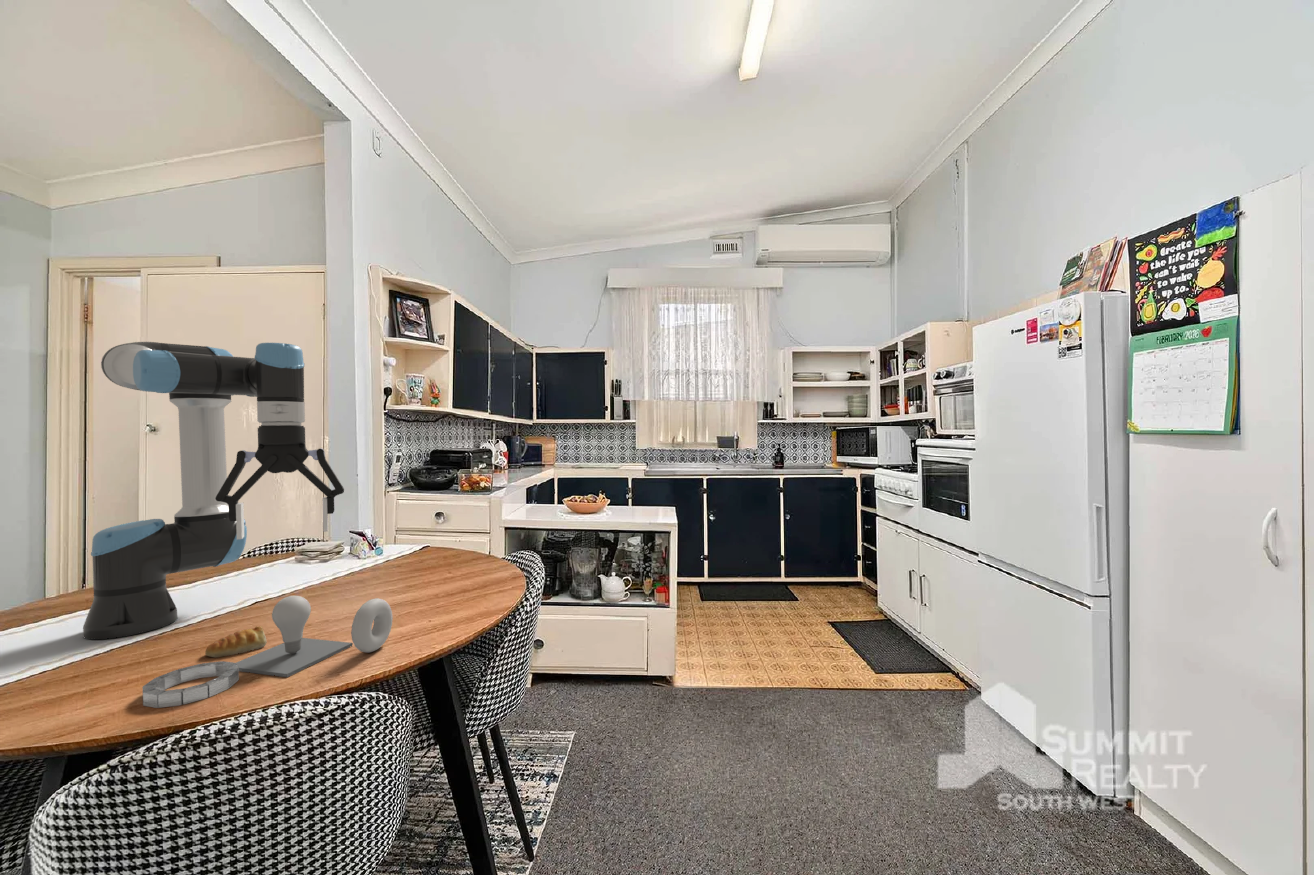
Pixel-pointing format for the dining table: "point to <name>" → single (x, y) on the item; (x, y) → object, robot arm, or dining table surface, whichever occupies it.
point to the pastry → (238, 643)
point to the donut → (363, 624)
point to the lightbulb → (291, 620)
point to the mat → (291, 657)
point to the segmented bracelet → (165, 698)
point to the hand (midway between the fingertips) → (284, 534)
